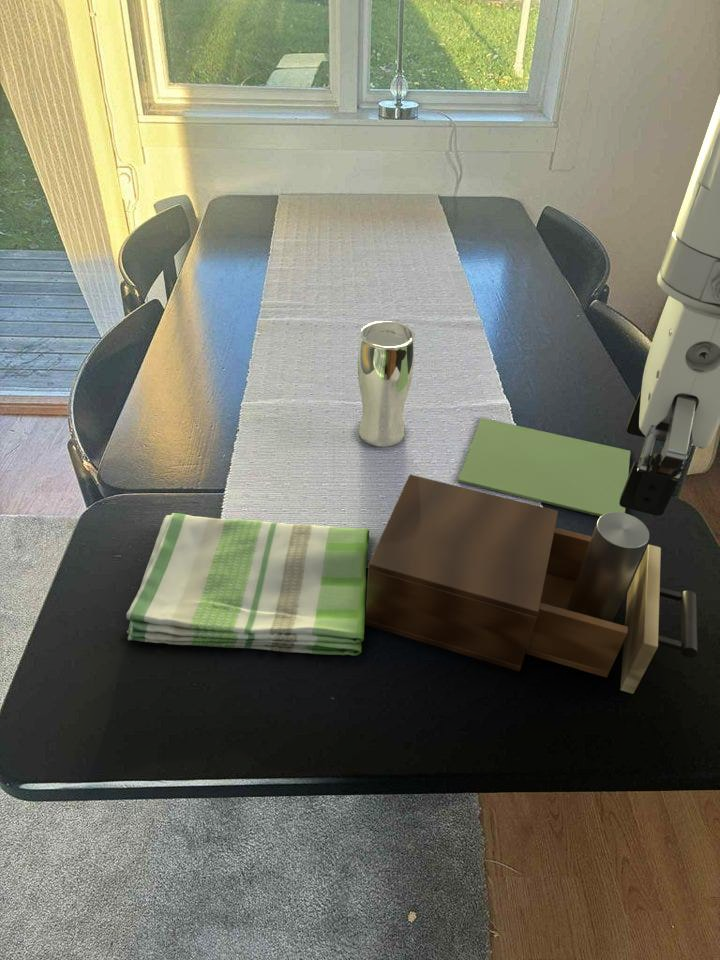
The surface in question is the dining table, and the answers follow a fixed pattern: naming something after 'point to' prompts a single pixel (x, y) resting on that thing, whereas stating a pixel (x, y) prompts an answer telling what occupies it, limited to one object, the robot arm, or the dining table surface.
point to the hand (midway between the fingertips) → (642, 470)
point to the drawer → (597, 639)
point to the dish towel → (253, 586)
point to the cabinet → (461, 571)
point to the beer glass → (384, 380)
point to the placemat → (547, 468)
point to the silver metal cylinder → (608, 565)
